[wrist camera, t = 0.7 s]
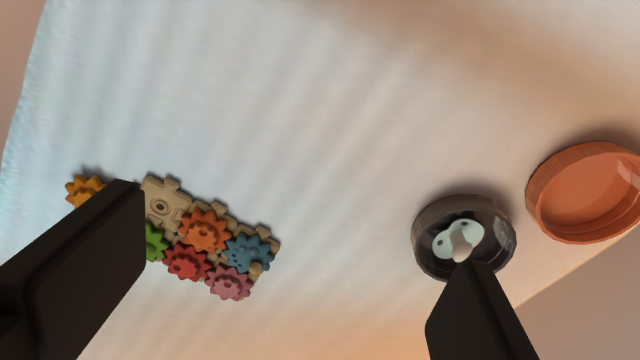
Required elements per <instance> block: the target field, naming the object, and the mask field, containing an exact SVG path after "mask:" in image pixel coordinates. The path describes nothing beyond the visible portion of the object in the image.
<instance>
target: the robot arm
mask: <svg viewBox="0 0 640 360" xmlns="http://www.w3.org/2000/svg"><path fill="white" fill-rule="evenodd" d="M145 265H146V215H145V192H144V190H142V189H140V186H139V184H137V183H134V182H130V181H125V180H121V179H114V180H113V181H111V182H110V183H109V184H107V185H106V186H105V187H103V188H102V189H101V190H99V191H98V192H97V193H96V194H94V195H93V196H92V197H90V198H89V199H88V200H86V201H85V202H84V203H82V204H81V205H80V206H79V207H77V208H76V209H75V210H73V211H72V212H71V213H69V214H68V215H67V216H65V217H64V218H63V219H62V220H60V221H59V222H58V223H56V224H55V225H54V226H52V227H51V228H50V229H48V230H47V231H46V232H45V233H43V234H42V235H41V236H39V237H38V238H37V239H35V240H34V241H33V242H31V243H30V244H29V245H28V246H26V247H25V248H24V249H22V250H21V251H20V252H18V253H17V254H16V255H14V256H13V257H12V258H11V259H9V260H8V261H7V262H5V263H4V264H3V265H1V266H0V360H76V359H77V358H78V357H79V355H80V354H81V353H82V351H83V350H84V349H85V347H86V346H87V345H88V343H89V342H90V341H91V339H92V338H93V337H94V335H95V334H96V333H97V331H98V330H99V329H100V328H101V326H102V325H103V324H104V322H105V321H106V320H107V318H108V317H109V316H110V314H111V313H112V312H113V310H114V309H115V308H116V306H117V305H118V304H119V302H120V301H121V300H122V299H123V297H124V296H125V295H126V293H127V292H128V291H129V289H130V288H131V287H132V285H133V284H134V283H135V281H136V280H137V279H138V277H139V276H140V275H141V273H142V272H143V270H144V268H145ZM425 337H426V341H427V346H428V350H429V354H430V359H431V360H540V359H539V357H538V355H537V353H536V352H535V350H534V348H533V346H532V344H531V342H530V340H529V338H528V336H527V334H526V333H525V331H524V329H523V327H522V325H521V323H520V321H519V319H518V318H517V316H516V314H515V312H514V310H513V308H512V306H511V304H510V302H509V300H508V299H507V297H506V295H505V293H504V291H503V289H502V287H501V285H500V283H499V282H498V280H497V278H496V276H495V274H494V272H493V270H492V268H491V266H490V265H489V264H488V263H486V262H481V261H477V260H473V259H466V260H465V261H464V262H459V263H458V264H457V266H456V268H455V269H454V271H453V273H452V275H451V277H450V279H449V281H448V282H447V284H446V286H445V288H444V290H443V292H442V294H441V295H440V297H439V299H438V301H437V303H436V305H435V307H434V308H433V310H432V312H431V314H430V316H429V318H428V320H427V322H426V325H425Z"/></svg>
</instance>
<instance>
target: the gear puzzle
mask: <svg viewBox="0 0 640 360" xmlns="http://www.w3.org/2000/svg"><path fill="white" fill-rule="evenodd" d="M106 185H107V184H102V183H101V181H100V180H99V178H98V177H97V176H96V175H95V176H92V177H91V178H90V179H89V180H88V179H86V178H85V177H83V176H81V175H77V176H76V177H75V178H74V182H68V183H67V184H66V185H65V188H66V189H67V191H68V192H69V193H70V194H69V195H68V196H67V197H66V198H65V199H66V200H67V201H68V202H69V203H71V204H72V205H74V206H75V209H76V208H77V207H79V206H80V205H81V204H82V203H84V202H85V201H86V200H88V199H89V198H90V197H92V196H93V195H94V194H96V193H97V192H98V191H99V190H101V189H102V188H103V187H105V186H106ZM179 187H180V183H178V182H176V181H174V180H172V179H171V178H169V177H166V178H165V179H164V182H162V181H160V180H158V179H156V178H154V177H152V176H146V177H145V178H144V179H143V182H142V184H141V187H140V189H142V190H144V192H145V215H146V259H147V260H149V261H151V262H154V261H158V262H160V261H162V262H163V264H164V265H166V266H168V272H169V273H173V274H177V275H178V277H179V279H180V280H184V279H186V278H187V279H190V280H192V281H194V282H197V281H203V280H204V283H205V284H206V285H207V286H209V287H211V289H210V293H212V294H217V295H220V297H221V299H222V300H227V299H228V298H230V299H233V300H235V301H239V300H243V299H244V297H248V296H250V290H249V289H250V288H252V287H253V285H254V284H255V282H256V281H257V280H258V278H259V274H262V273H263V271H268V270H269V268H270V265H269V262H271V261H273V260H274V259H275V255H276V254H277V252H278V251H279V249H280V244H279V243H277V242H276V241H274V240H272V239H270V238H268V236H269V235H270V233H271V232H270V231H269V230H267V229H265V228H263V227H261V226H259V225H258V226H257V227H256V230H253V229H251V228H249V227H247V226H245V225H242V224H240V225H238V222H237V221H236V220H235V219H233V218H231V217H229V216H227V215H225V214H224V213H225V212H226V211H227V207H225V206H223V205H221V204H219V203H217V202H213V203H212V205H211V207H210V206H208V205H206V204H204V203H202V202H201V201H198V200H196V201H194V202H193V200H192V198H191V197H190V196H189V195H187V194H185V193H183V192H181V191H179V190H178V188H179ZM160 204H162V205H163V206H161V205H160ZM176 231H178V234H176ZM220 252H221V255H220V256H219V253H220Z"/></svg>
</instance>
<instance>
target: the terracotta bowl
mask: <svg viewBox="0 0 640 360" xmlns="http://www.w3.org/2000/svg"><path fill="white" fill-rule="evenodd" d="M525 198H526V208H527V210H528V212H529V213H530V215H531V217H532V218H533V220H534V221H535V222H536V224H537V225H538V226H539V227H540V229H541V230H542V231H543V232H544V233H545V234H547V235H548V236H549V237H551V238H552V239H554V240H556V241H560V242H563V243H566V244H578V245H586V244H592V243H597V242H602V241H605V240H608V239H610V238H613V237H615V236H618V235H620V234H622V233H623V232H625V231H626V230H628V229H629V228H631V227H633V226H634V225H636V224H637V223H638V222H639V221H640V156H638V155H637V154H635V153H633V152H631V151H630V150H628V149H626V148H625V147H622V146H619V145H616V144H613V143H610V142H587V143H583V144H579V145H575V146H572V147H569V148H567V149H565V150H563V151H561V152H559V153H557V154H555V155H553V156H552V157H551V158H550V159H548V160H547V161H546V162H545V163H544V164H542V165H541V166H540V167H539V168H538V170H537V171H536V172H535V174H534V175H533V177H532V178H531V179H530V181H529V184H528V187H527V190H526V194H525Z"/></svg>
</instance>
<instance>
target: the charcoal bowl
mask: <svg viewBox="0 0 640 360" xmlns="http://www.w3.org/2000/svg"><path fill="white" fill-rule="evenodd" d="M460 218H469V219H472V220H475V221H477V222H478V223H480V224H481V225H482V226H483V227H484V230H485V232H484V236H483V238H482V240H481V241H480V242H479V244H477V245H476V246H475V247H474V248H473V249H472V252H471V254H470V255H469V256H468V257H467V258H466V259H473V260H477V261H481V262H486V263H488V264H489V265H490V266H491V268H492V270H493V272H494V274H495V273H497V272H498V271H499V270H501V269H502V268H504V267H505V265H506V264H507V263H508V262H509V260H510V259H511V258H512V257H513V254H514V251H515V248H516V245H517V241H516V232H515V230H514V228H513V226H512V225H511V223H510V221H509V220H508V218H507V217H506V215H505V214H504V213H503V211H502V210H501V208H500V207H499V206H497V205H496V204H494V203H493V202H492V201H490V200H489V199H486V198H483V197H479V196H476V195H455V196H451V197H446V198H443V199H441V200H439V201H437V202H435V203H433V204H431V205H430V206H428V207H427V208H426V209H425V210H424V211H423V212H422V213H421V214H420V215H419V216H418V217H417V219H416V221H415V223H414V225H413V227H412V233H411V242H412V246H413V250H414V254H415V258H416V262H417V264H418V265H419V266H420V268H421V269H422V270H423V271H424V273H426V274H427V275H429V276H431V277H432V278H434V279H436V280H439V281H442V282H446V283H447V282H448V281H449V279H450V277H451V275H452V273H453V271H454V269H455V268H456V266H457V264H458V263H459V262H455V261H454V259H453V257H452V258H449V259H443V258H439V257H437V256H436V255H435V254H434V252H433V248H432V243H433V239H434V238H435V236H436V235H437V234H438V233H439V232H441V231H443V230H445V229H447V228H448V227H449V226H450V224H451V223H452V222H453V221H455V220H457V219H460ZM462 223H465V224H467V222H462ZM441 243H442V240H439V241H438V242H437V244H441ZM466 259H465V260H466ZM465 260H464V261H465ZM464 261H462V262H464Z"/></svg>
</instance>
